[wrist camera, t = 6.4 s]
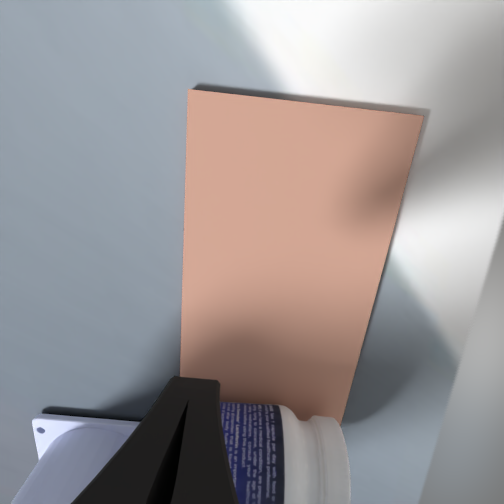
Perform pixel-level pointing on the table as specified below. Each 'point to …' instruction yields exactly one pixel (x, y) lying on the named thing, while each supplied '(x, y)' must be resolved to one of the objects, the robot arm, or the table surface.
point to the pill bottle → (285, 456)
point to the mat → (286, 243)
